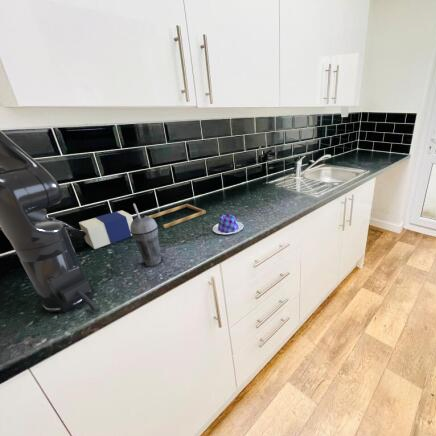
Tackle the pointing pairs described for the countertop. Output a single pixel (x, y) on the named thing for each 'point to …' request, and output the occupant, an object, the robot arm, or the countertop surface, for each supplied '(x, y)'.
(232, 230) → the pudding
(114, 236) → the eraser
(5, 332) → the countertop surface
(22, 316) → the countertop surface
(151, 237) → the beverage cup
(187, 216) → the oak frame
